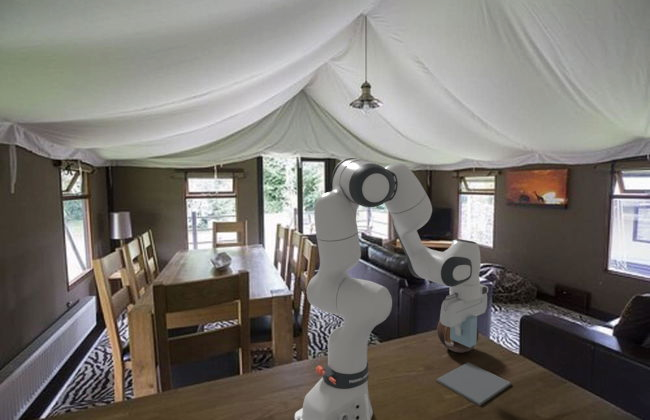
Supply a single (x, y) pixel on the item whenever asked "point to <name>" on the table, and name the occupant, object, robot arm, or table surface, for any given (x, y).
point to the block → (466, 332)
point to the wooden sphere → (450, 344)
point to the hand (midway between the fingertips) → (463, 332)
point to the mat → (473, 383)
